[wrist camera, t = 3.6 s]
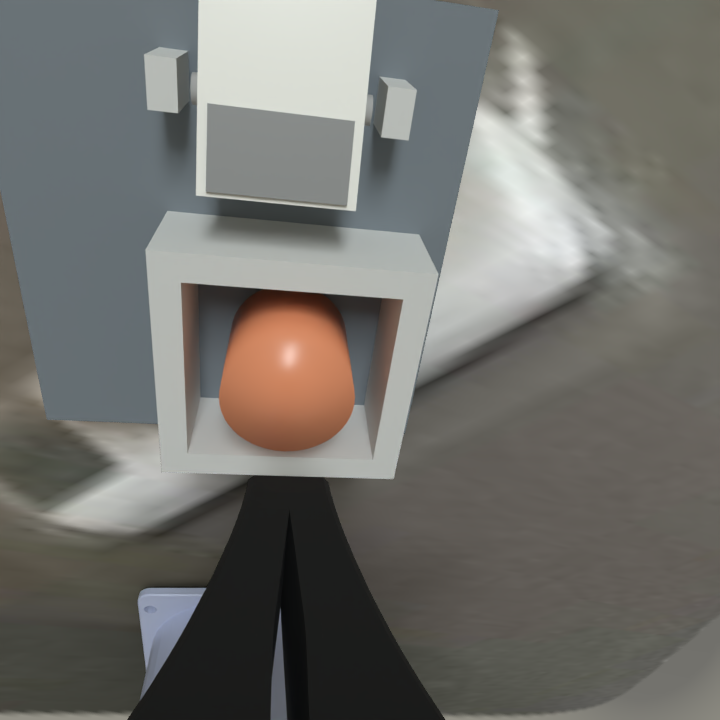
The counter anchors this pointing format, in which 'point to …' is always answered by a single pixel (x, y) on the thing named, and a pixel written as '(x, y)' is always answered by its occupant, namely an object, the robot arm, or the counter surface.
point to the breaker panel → (219, 224)
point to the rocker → (282, 100)
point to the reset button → (287, 371)
